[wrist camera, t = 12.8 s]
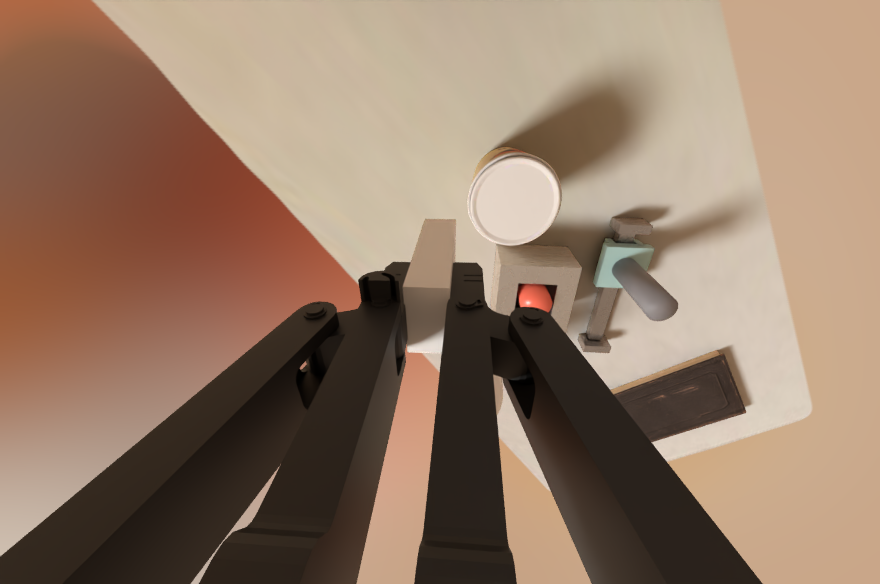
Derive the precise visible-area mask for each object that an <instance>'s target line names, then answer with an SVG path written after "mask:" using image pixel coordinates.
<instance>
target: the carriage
mask: <svg viewBox="0 0 880 584" xmlns="http://www.w3.org/2000/svg"><path fill="white" fill-rule="evenodd" d="M654 250H655V248H653V247H652V246H651V245H650V244H643V243H641V242H640V241H639V240H636V239H634V241H633V244H627V243H615V242H614V241H613V240H612V239H608V238H605V241H604V243H603V246H602V250H601V254H600V257H599V261H598V264H597V268H596V272H595V275H594V279H593V283H594V285H595V286H596V287H607V288H624V289H625V290H626V291H627V293H628V294H629V295H630V296H631V297H632V299H633V300H634V301H635V302H636V303H637V305H638V306H639V307H640V308H641V309H642V311H643V312H644V313H645V314H646V316H647V317H648V318H649V319H651V320H653V321H663V320H666V319H668V318H670V317H672V316H673V315H674V314H675V313H676V311H677V309H678V303H677V301H676V300H675V299H674V298H673V297H672V296H671V295H670V294H669V293H668V292H667V291H666V290H665V289H664V288H663V287H662V286H661V285H660V284H659V283H658V282H657V281H656V280H655V279H654V278H653V277H652V276H651V275H650V274H648V273H647V269H648V267H649V264H650V261H651V258H652V255H653V253H654Z"/></svg>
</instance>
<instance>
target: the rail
mask: <svg viewBox="0 0 880 584" xmlns="http://www.w3.org/2000/svg"><path fill="white" fill-rule="evenodd" d="M610 227H611V228H612V229H613V230H614V231H615V235H614V238H613V241H614V242H615V243H627V244H633V241H634V238H635V235H636V234H639V235H650V234H651V231H652V228H653V225H651V224H650V223H648V222H647V221H645V220H644V219H643V218H614V217H612V219H611V222H610ZM617 291H618V288H607V287H599V290H598V293H597V297H596V300H595V304H594V307H593V311H592V314H591V318H590V321H589V325H588V328H587V331H586V334H579V337H578V341H579V344H580V346H581V348H582V350H583V352H598V353H609V352H610V349H611V346H610V344H609V342H608V341H607V339H606V337H605V336H604V335H603V334H604V331H605V328H606V325H607V322H608V318H609V315H610V312H611V309H612V306H613V303H614V300H615V297H616V294H617Z"/></svg>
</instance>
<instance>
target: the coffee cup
mask: <svg viewBox="0 0 880 584" xmlns="http://www.w3.org/2000/svg"><path fill="white" fill-rule="evenodd" d="M561 199H562V190H561V185H560V181H559V179H558V176H557V174H556V173H555V171H554V170H553V168H552V167H551V166H550V165H549V164H548V163H547V162H546V161H544V160H543V159H541V158H539V157H537V156H535V155H532V154H528V153H525V152H523V151H521V150H518V149H515V148H510V147H502V148H498V149H495V150H492V151H491V152H489V153H488V154H486V155H485V156H484V157H483V158H482V159H481V161H480V162H479V163H478V165H477V167H476V170H475V173H474V176H473V180H472V184H471V187H470V190H469V194H468V212H469V216H470V219H471V221H472V223H473V225H474V227H475V228H476V229H477V231H478V232H479V233H480V234H481V235H482V236H484V237H485V238H486V239H488V240H490V241H492V242H494V243H497V244H501V245H509V246H511V245H520V244H524V243H527V242H530V241H532V240H534V239H536V238H537V237H539V236H540V235H542V234H543V233H544V232H545V231H546V230H547V229H548V228H549V227H550V226H551V225H552V223H553V222H554V220H555V218H556V216H557V214H558V212H559V209H560V206H561Z"/></svg>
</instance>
